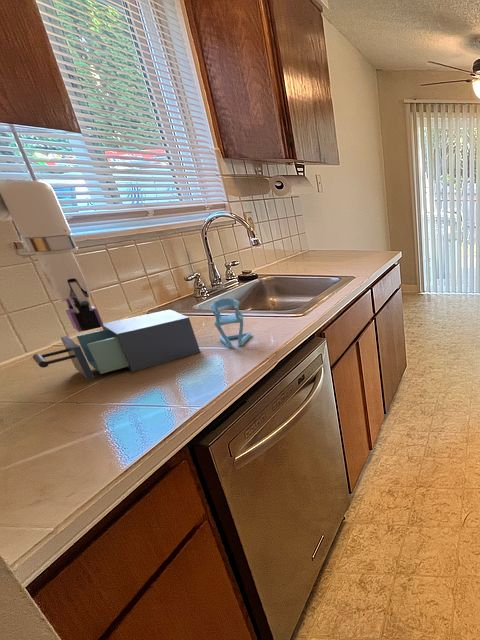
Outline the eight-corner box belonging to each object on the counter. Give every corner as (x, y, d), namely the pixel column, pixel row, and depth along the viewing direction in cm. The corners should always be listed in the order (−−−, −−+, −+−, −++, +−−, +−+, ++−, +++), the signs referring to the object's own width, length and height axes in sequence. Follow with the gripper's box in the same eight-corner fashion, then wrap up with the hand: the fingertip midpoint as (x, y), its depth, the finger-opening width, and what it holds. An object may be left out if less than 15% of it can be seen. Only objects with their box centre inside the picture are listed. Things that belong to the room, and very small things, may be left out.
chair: (219, 350, 106) (205, 306, 101) (220, 340, 113) (208, 299, 108) (251, 344, 110) (240, 302, 105) (251, 335, 116) (240, 295, 111)
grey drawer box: (132, 371, 95) (116, 334, 91) (116, 359, 102) (100, 324, 98) (200, 351, 105) (188, 317, 101) (181, 342, 112) (170, 309, 108)
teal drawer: (52, 390, 85) (35, 356, 82) (41, 376, 91) (25, 345, 88) (159, 359, 99) (147, 330, 96) (143, 349, 105) (132, 321, 102)
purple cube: (78, 332, 88) (70, 313, 87) (73, 328, 91) (65, 309, 89) (104, 326, 92) (96, 308, 90) (98, 323, 94) (90, 305, 92)
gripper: (19, 244, 86) (58, 324, 93) (34, 250, 76) (76, 339, 84) (66, 240, 91) (99, 316, 99) (85, 245, 82) (120, 329, 89)
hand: (88, 326), depth 91 cm, fingers closed on purple cube, 4 cm apart
